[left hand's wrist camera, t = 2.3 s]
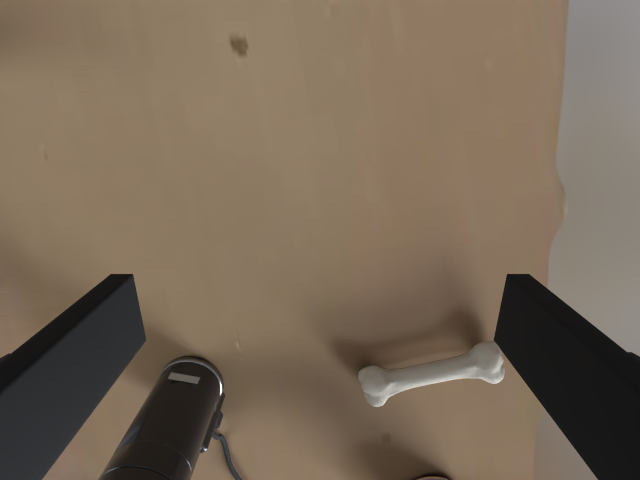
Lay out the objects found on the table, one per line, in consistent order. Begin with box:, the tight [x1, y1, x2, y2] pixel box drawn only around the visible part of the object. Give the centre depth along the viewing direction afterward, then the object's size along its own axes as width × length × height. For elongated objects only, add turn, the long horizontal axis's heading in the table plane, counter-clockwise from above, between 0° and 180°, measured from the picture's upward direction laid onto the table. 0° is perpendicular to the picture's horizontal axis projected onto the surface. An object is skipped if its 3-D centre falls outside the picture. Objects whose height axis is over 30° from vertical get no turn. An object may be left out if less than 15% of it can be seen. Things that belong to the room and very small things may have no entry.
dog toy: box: [358, 341, 504, 407], centre depth 51 cm, size 20×6×5 cm, turn 105°
